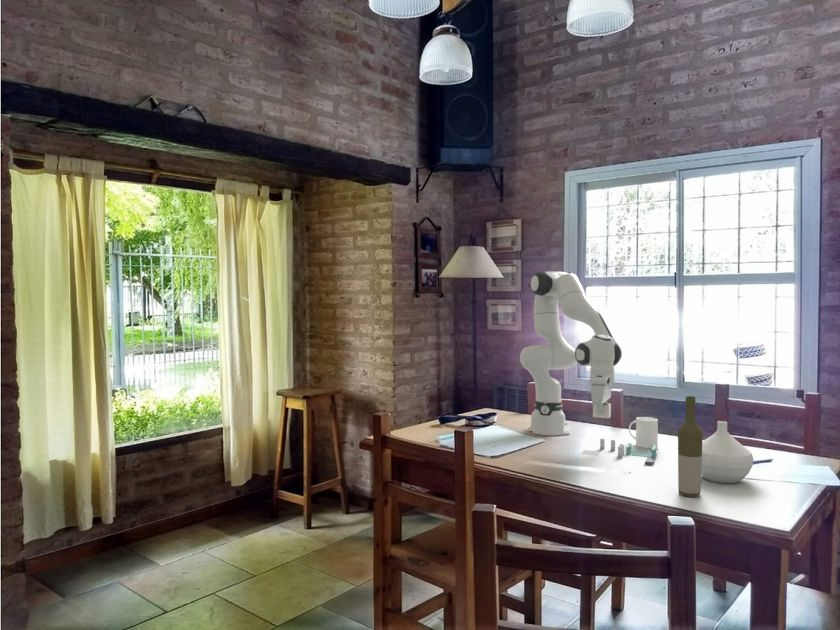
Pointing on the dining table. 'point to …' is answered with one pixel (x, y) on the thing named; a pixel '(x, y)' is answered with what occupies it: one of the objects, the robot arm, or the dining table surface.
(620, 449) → the board
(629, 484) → the dining table surface
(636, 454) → the end holder
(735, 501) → the dining table surface
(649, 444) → the mug
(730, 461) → the vase
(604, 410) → the box
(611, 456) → the dining table surface
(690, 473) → the bottle
